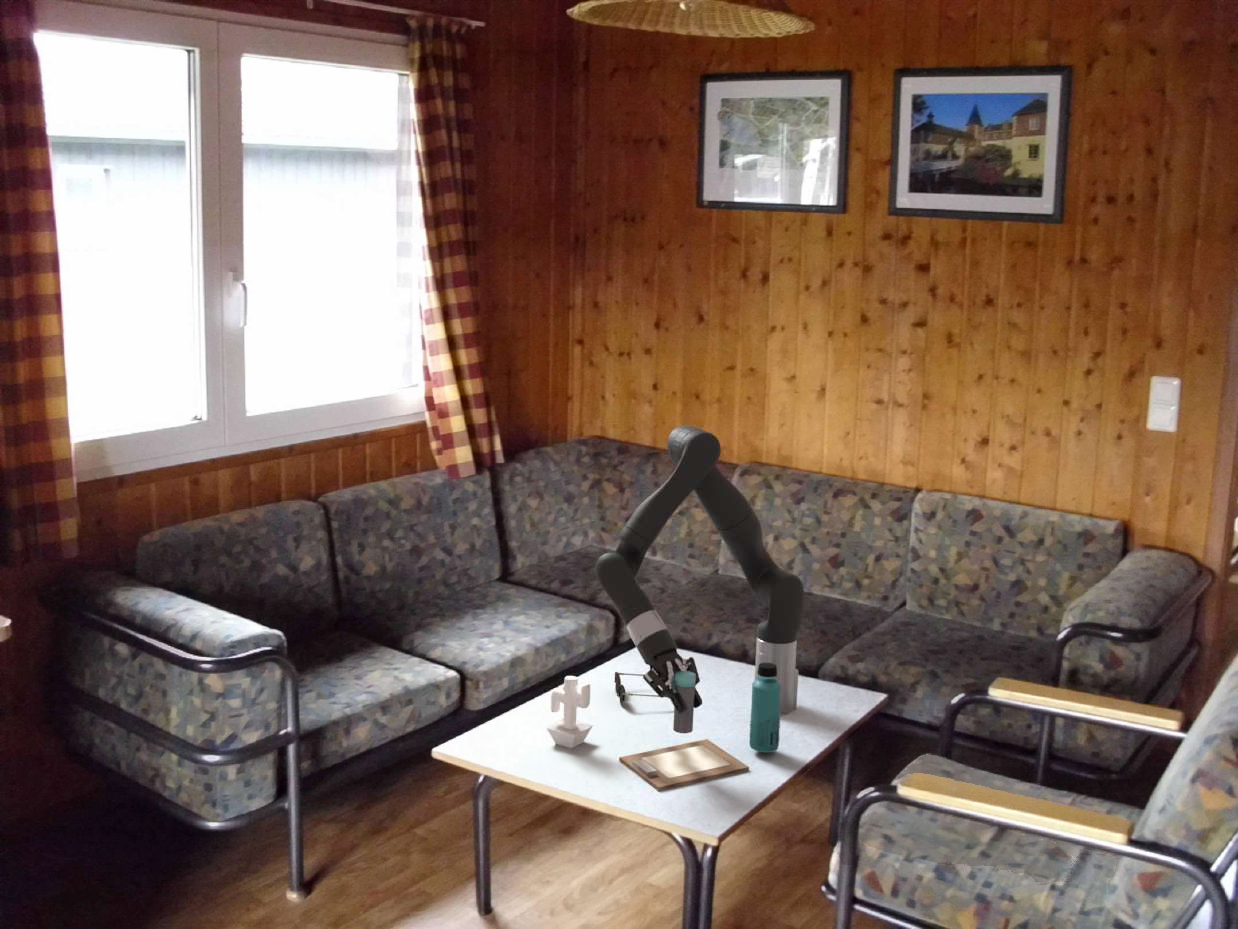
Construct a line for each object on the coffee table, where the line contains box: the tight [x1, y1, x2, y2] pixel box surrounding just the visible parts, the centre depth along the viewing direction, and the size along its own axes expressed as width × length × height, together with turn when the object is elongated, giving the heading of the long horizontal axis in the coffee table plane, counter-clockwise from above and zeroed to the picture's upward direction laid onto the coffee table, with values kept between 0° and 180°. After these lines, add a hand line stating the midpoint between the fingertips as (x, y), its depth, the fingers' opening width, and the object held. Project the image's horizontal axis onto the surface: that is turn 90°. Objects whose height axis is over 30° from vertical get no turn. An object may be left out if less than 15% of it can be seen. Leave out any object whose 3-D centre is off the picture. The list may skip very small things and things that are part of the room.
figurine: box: [546, 675, 594, 749], centre depth 290 cm, size 7×9×15 cm
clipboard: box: [618, 738, 750, 792], centre depth 281 cm, size 22×16×2 cm
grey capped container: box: [672, 671, 696, 734], centre depth 277 cm, size 4×4×12 cm
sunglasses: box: [614, 671, 661, 707], centre depth 318 cm, size 14×16×5 cm
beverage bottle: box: [748, 662, 781, 753], centre depth 287 cm, size 6×7×20 cm
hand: (691, 708), depth 276 cm, fingers closed on grey capped container, 4 cm apart
